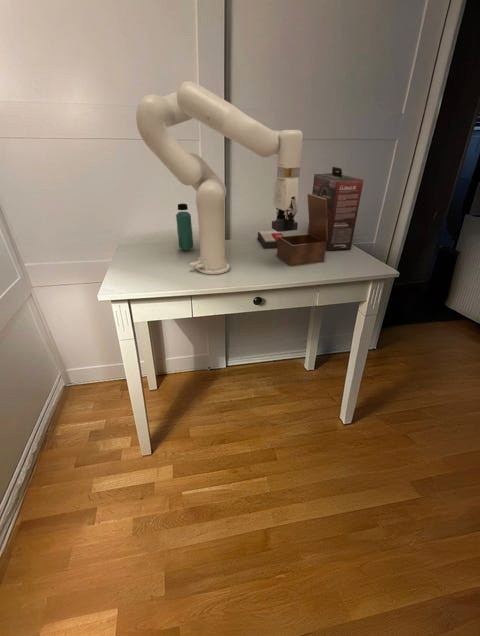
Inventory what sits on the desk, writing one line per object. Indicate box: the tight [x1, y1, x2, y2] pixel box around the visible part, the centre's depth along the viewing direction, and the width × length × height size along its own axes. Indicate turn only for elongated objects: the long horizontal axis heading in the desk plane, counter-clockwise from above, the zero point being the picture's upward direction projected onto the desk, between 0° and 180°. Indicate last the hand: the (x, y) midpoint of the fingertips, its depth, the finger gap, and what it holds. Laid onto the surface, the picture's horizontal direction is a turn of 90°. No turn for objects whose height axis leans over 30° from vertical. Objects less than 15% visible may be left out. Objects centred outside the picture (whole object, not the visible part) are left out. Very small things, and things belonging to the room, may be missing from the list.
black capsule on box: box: [271, 217, 299, 233], centre depth 112 cm, size 8×5×4 cm
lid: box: [307, 193, 333, 241], centre depth 126 cm, size 16×13×6 cm
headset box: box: [307, 166, 365, 251], centre depth 143 cm, size 25×12×33 cm, turn 12°
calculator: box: [257, 230, 284, 249], centre depth 149 cm, size 11×4×15 cm
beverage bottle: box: [175, 203, 194, 251], centre depth 134 cm, size 6×7×20 cm
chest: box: [276, 233, 327, 267], centre depth 130 cm, size 16×13×8 cm
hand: (284, 227), depth 112 cm, fingers closed on black capsule on box, 5 cm apart
